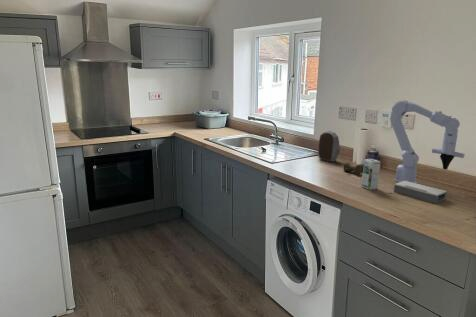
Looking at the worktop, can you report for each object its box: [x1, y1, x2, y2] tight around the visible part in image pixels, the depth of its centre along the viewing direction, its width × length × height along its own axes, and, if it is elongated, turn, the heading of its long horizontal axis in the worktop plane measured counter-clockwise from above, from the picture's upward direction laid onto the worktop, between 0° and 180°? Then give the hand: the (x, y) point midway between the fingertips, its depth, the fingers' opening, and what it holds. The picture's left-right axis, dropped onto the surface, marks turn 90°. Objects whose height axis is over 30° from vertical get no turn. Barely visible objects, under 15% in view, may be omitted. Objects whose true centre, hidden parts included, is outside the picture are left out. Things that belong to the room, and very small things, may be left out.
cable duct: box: [393, 184, 447, 204], centre depth 173 cm, size 20×10×4 cm, turn 39°
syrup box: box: [360, 158, 382, 191], centre depth 182 cm, size 6×6×14 cm
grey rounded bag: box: [317, 130, 341, 162], centre depth 238 cm, size 15×8×20 cm, turn 41°
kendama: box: [342, 162, 364, 176], centre depth 213 cm, size 6×10×20 cm
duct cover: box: [394, 181, 447, 196], centre depth 173 cm, size 20×10×1 cm, turn 39°
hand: (445, 169), depth 183 cm, fingers closed
